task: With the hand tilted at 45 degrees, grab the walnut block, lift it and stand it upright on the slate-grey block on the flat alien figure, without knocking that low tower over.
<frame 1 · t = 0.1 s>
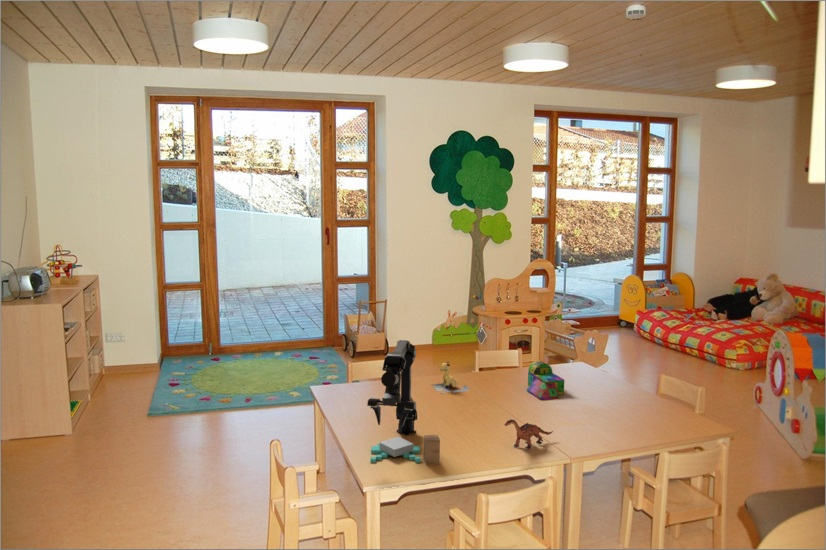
hand: (390, 425, 259), 15 cm above the table, tool pointing down, fingers open, 9 cm apart
walnut block: (431, 461, 263), on the table
brown animal figure: (526, 446, 280), on the table
slate block: (396, 450, 271), point 1 cm above the table, touching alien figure
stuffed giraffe: (450, 388, 360), on the table
block puzzle: (543, 392, 356), on the table
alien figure: (395, 454, 272), on the table, touching slate block
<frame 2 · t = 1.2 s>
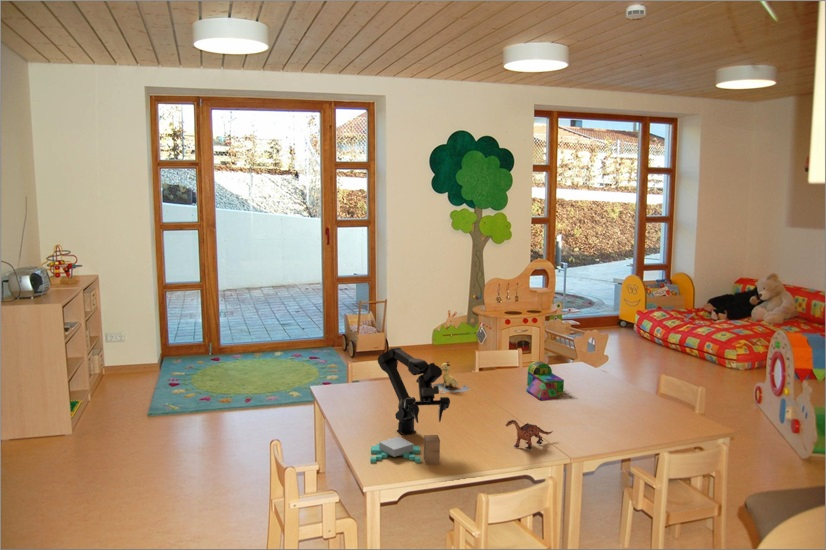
hand: (428, 422, 269), 13 cm above the table, tool tilted 45°, fingers open, 9 cm apart
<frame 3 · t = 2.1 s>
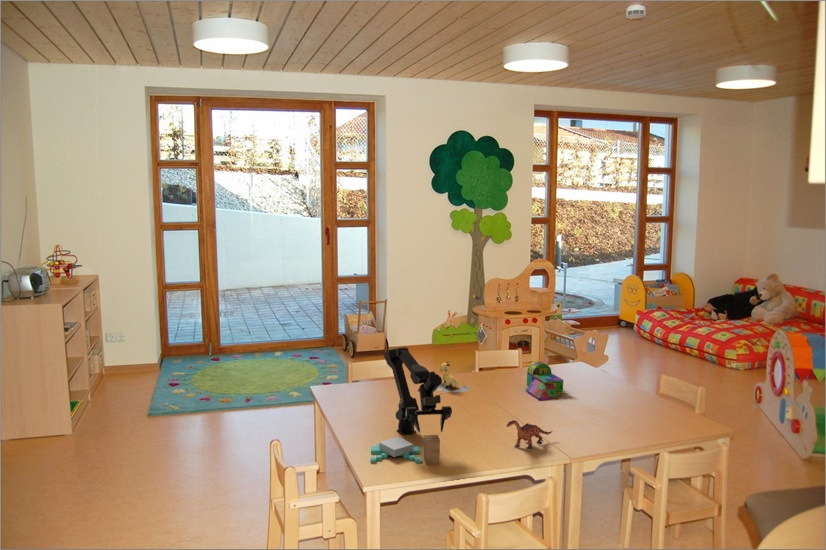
hand: (430, 432, 266), 11 cm above the table, tool tilted 45°, fingers open, 9 cm apart
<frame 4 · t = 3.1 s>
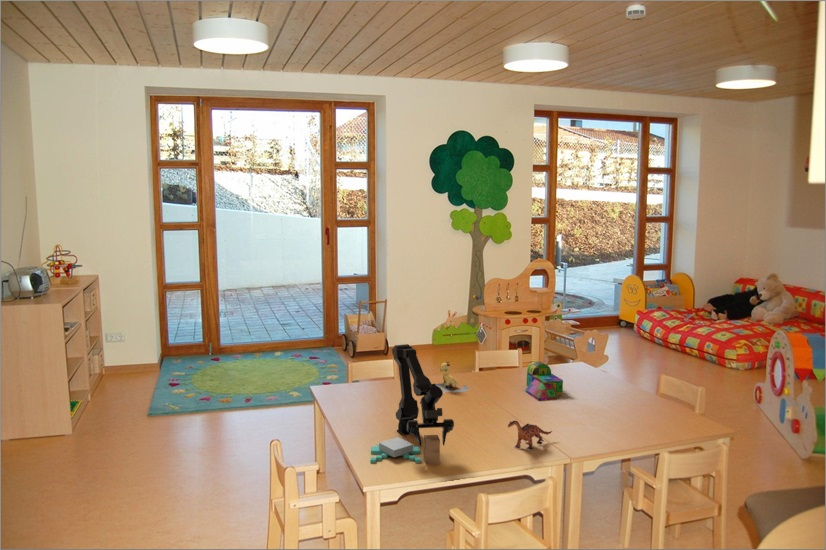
hand: (432, 445, 262), 7 cm above the table, tool tilted 45°, fingers open, 9 cm apart
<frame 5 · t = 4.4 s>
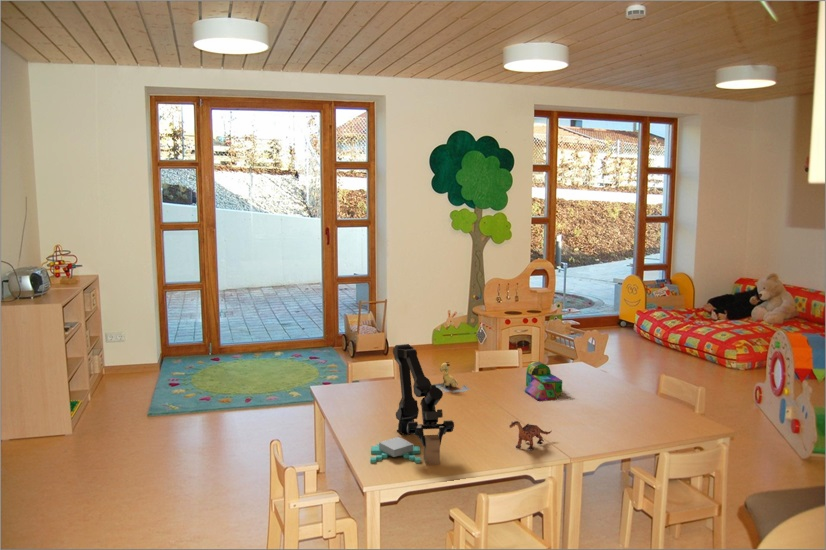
hand: (432, 447, 261), 7 cm above the table, tool tilted 45°, fingers closed on walnut block, 5 cm apart
walnut block: (431, 461, 263), on the table, touching gripper
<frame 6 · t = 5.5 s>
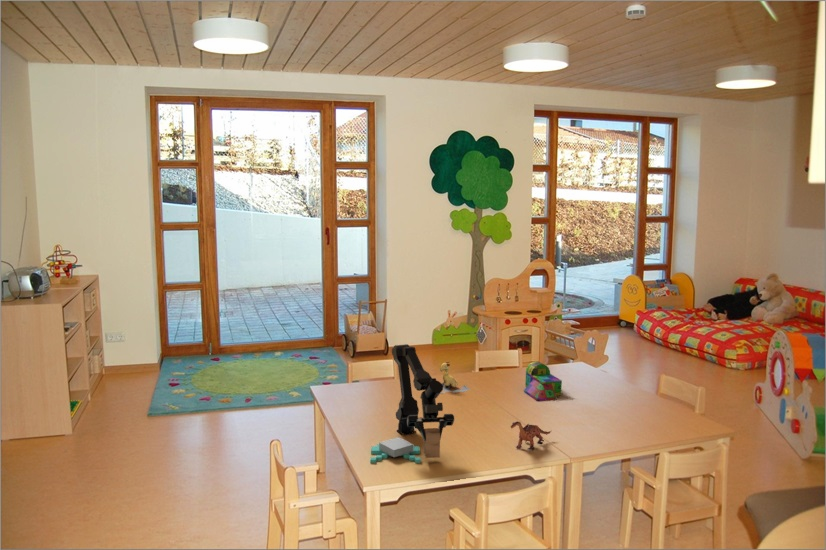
hand: (432, 440, 261), 9 cm above the table, tool tilted 45°, fingers closed on walnut block, 5 cm apart
walnut block: (431, 454, 263), point 3 cm above the table, touching gripper
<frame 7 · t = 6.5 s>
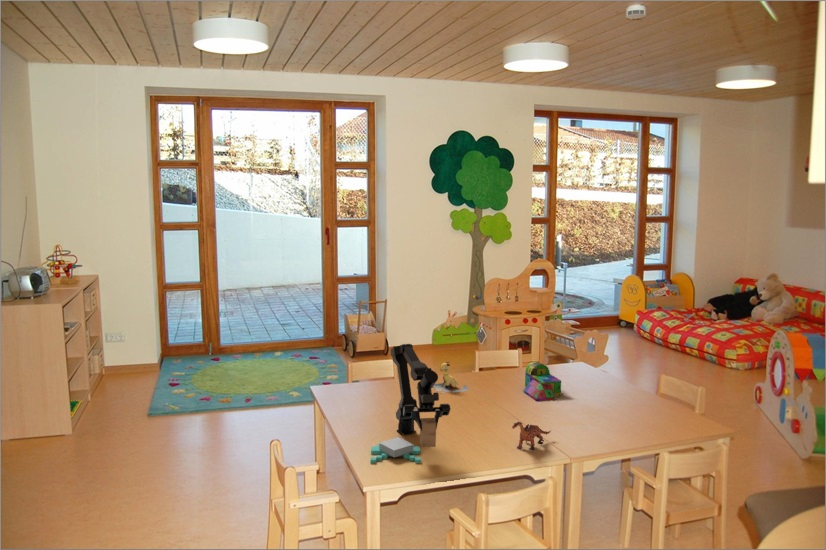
hand: (428, 429, 261), 13 cm above the table, tool tilted 45°, fingers closed on walnut block, 5 cm apart
walnut block: (427, 444, 264), point 7 cm above the table, touching gripper
when the fingers open (12 cm above the table, at t = 8.5 s): walnut block drops 1 cm, resting on slate block.
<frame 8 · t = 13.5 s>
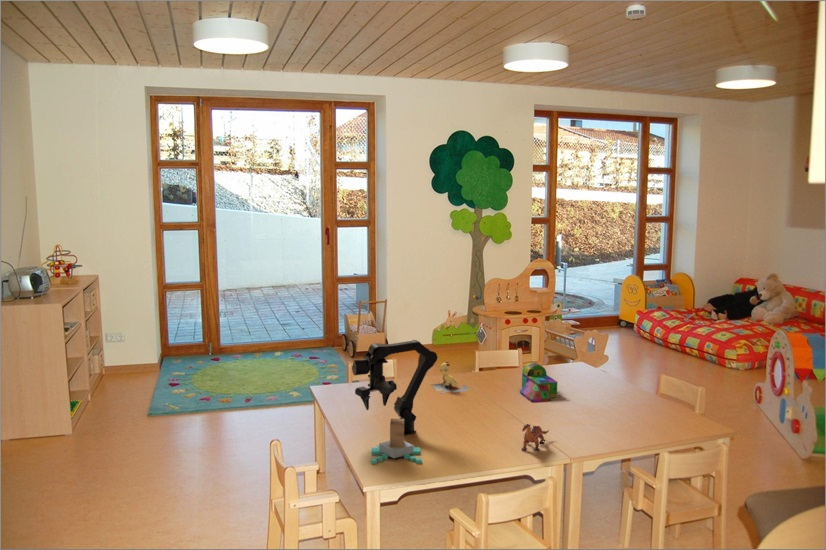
hand: (376, 407, 287), 13 cm above the table, tool pointing down, fingers open, 9 cm apart
walnut block: (397, 444, 269), point 4 cm above the table, touching slate block
brown animal figure: (532, 449, 278), on the table
slate block: (396, 451, 270), point 1 cm above the table, touching walnut block, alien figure
block puzzle: (536, 394, 352), on the table
at the end: walnut block inside the target area on the slate block (0.3 cm from its centre), point 3.0 cm above the slate block's base; walnut block tilted 0°; slate block moved 1.6 cm from its start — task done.
